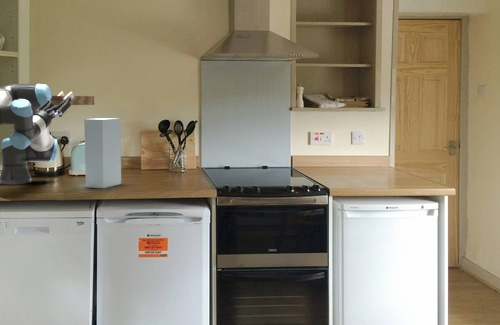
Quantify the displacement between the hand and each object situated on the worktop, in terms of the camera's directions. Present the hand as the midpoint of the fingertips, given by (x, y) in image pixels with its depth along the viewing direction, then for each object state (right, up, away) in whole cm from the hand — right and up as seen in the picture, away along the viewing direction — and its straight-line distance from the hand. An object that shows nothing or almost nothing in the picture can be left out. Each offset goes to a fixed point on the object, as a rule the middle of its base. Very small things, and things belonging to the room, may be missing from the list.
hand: (67, 94), depth 258 cm
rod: (+1, -4, +5) cm, 6 cm away
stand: (+8, -42, +31) cm, 52 cm away
